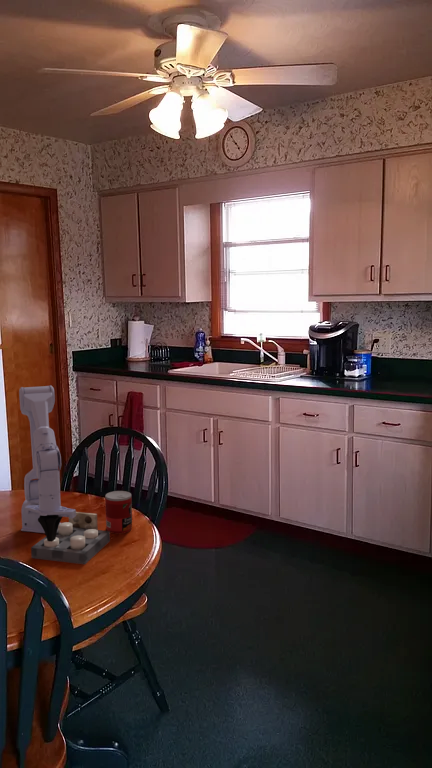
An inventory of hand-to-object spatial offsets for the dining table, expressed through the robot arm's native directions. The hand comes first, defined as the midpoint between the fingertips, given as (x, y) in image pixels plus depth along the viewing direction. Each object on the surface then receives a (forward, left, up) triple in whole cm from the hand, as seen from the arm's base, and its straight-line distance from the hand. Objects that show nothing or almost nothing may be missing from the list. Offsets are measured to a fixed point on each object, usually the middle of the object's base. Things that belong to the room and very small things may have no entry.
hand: (51, 540), depth 170 cm
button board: (+4, +4, -4) cm, 7 cm away
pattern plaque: (+2, +15, -4) cm, 16 cm away
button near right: (+8, 0, -1) cm, 8 cm away
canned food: (+11, +21, -4) cm, 24 cm away
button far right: (+8, +8, -3) cm, 12 cm away
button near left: (0, 0, -3) cm, 3 cm away
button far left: (0, +8, -1) cm, 8 cm away
